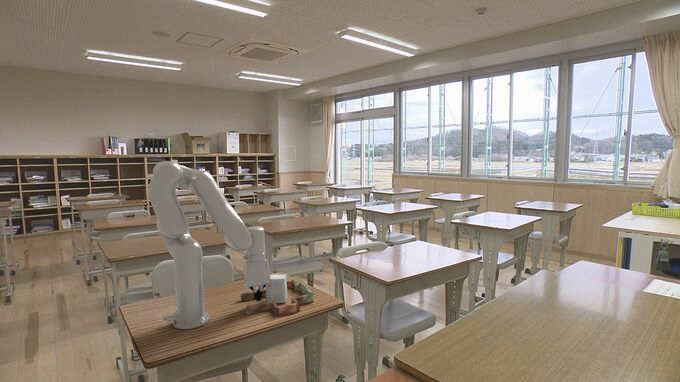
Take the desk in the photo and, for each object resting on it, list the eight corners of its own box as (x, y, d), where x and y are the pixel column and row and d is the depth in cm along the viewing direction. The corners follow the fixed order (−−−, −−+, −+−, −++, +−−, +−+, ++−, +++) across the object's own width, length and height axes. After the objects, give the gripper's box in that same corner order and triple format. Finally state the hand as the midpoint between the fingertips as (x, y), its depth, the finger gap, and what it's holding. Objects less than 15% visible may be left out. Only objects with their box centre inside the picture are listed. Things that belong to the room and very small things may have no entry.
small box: (287, 297, 159) (286, 274, 158) (285, 303, 153) (284, 278, 152) (268, 298, 159) (267, 274, 158) (266, 303, 153) (265, 278, 152)
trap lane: (250, 320, 138) (249, 310, 137) (238, 295, 163) (238, 286, 163) (318, 307, 149) (318, 297, 148) (297, 285, 174) (297, 276, 174)
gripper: (238, 262, 144) (241, 307, 146) (276, 256, 150) (278, 300, 152) (235, 257, 151) (238, 300, 153) (272, 252, 157) (273, 294, 159)
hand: (258, 300), depth 153 cm, fingers closed
